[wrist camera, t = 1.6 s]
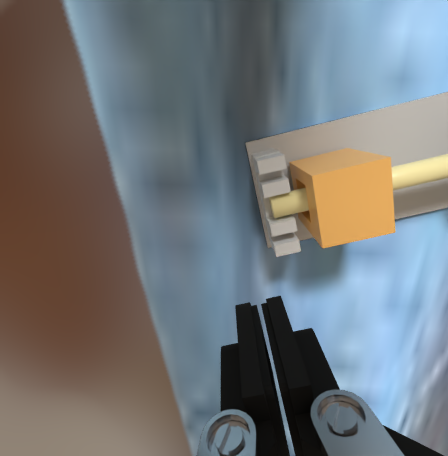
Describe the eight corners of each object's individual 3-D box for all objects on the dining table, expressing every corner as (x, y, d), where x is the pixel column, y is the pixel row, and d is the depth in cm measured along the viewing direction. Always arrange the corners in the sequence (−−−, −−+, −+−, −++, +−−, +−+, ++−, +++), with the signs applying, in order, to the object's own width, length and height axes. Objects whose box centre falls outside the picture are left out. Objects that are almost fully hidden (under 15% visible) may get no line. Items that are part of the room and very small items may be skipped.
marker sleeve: (289, 162, 26) (312, 175, 20) (347, 147, 26) (390, 157, 19) (298, 218, 28) (322, 248, 21) (353, 205, 27) (395, 232, 21)
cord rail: (245, 142, 26) (252, 148, 20) (503, 77, 25) (593, 63, 19) (267, 246, 30) (279, 278, 24) (496, 194, 28) (572, 214, 22)
